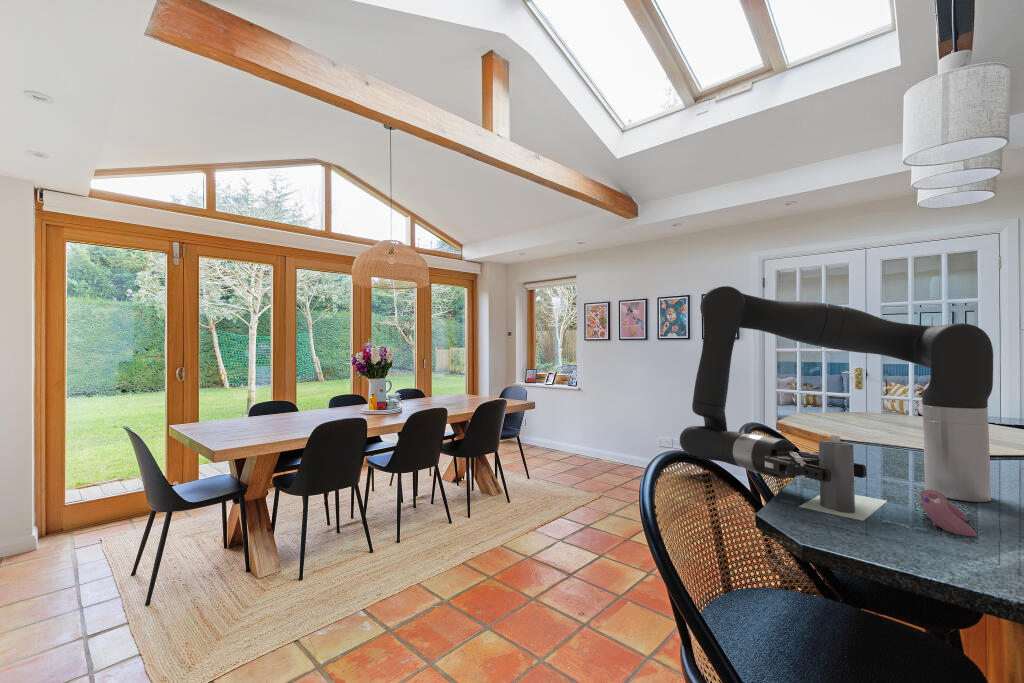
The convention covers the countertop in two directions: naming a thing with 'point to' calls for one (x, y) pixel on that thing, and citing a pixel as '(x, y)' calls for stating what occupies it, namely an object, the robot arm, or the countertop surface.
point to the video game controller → (944, 513)
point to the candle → (837, 475)
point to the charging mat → (862, 507)
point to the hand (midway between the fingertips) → (847, 473)
